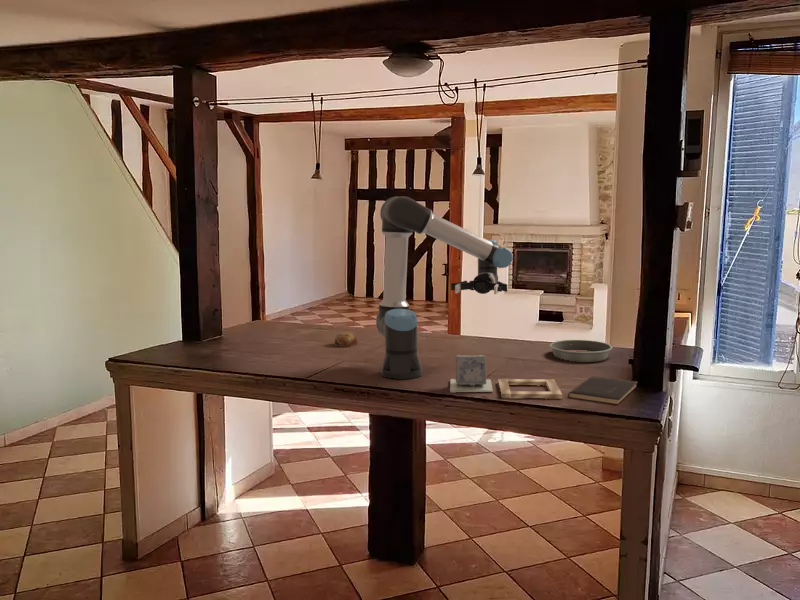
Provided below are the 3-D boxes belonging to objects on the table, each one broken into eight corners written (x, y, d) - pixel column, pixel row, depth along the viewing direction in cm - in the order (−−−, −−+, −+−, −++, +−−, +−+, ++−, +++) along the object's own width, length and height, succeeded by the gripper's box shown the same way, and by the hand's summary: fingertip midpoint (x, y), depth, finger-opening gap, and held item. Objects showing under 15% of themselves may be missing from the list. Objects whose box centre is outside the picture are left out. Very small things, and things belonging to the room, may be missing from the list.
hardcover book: (637, 388, 222) (637, 381, 222) (618, 406, 203) (618, 398, 203) (590, 382, 231) (590, 375, 230) (567, 398, 212) (568, 391, 211)
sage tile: (450, 392, 218) (450, 390, 218) (450, 381, 232) (450, 379, 232) (492, 392, 217) (492, 390, 217) (490, 381, 231) (490, 379, 231)
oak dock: (501, 398, 211) (501, 393, 211) (498, 383, 229) (498, 378, 229) (562, 398, 209) (562, 394, 209) (554, 383, 227) (554, 379, 227)
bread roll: (333, 352, 298) (327, 337, 294) (349, 339, 303) (342, 325, 300) (347, 355, 291) (341, 340, 287) (363, 342, 296) (357, 327, 293)
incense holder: (483, 381, 229) (483, 351, 227) (486, 387, 221) (486, 357, 219) (455, 381, 229) (455, 352, 227) (457, 388, 221) (457, 357, 219)
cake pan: (614, 351, 275) (615, 341, 274) (609, 365, 252) (609, 354, 252) (554, 348, 284) (555, 337, 283) (544, 360, 262) (544, 349, 261)
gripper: (517, 293, 247) (511, 301, 227) (451, 292, 254) (440, 299, 233) (517, 273, 246) (511, 279, 226) (451, 272, 252) (440, 278, 232)
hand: (475, 290), depth 229 cm, fingers open, 13 cm apart
